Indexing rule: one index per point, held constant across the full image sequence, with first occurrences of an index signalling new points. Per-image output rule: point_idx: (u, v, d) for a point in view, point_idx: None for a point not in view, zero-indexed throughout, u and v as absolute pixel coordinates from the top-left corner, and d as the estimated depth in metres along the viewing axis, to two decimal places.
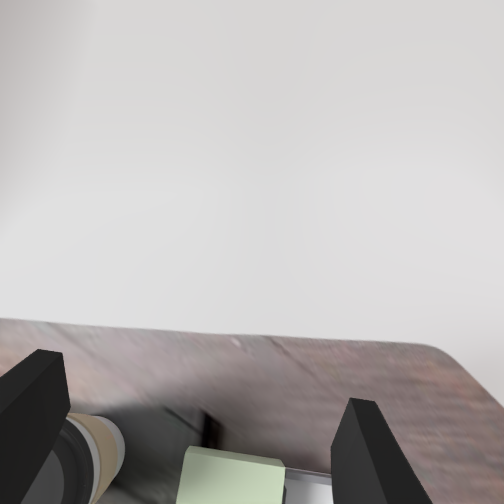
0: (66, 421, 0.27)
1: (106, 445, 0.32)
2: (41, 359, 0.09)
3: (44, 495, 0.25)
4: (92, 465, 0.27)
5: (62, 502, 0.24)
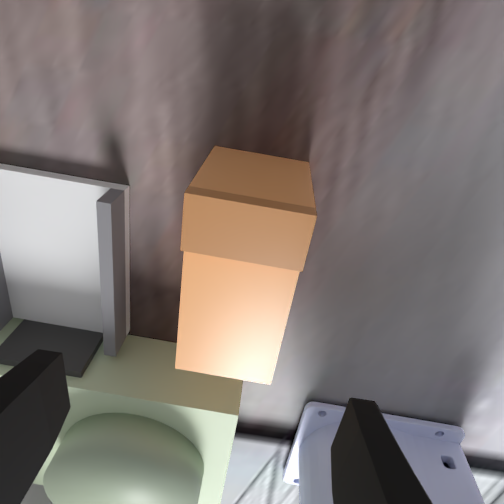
0: None
1: None
2: (41, 359, 0.09)
3: None
4: None
5: None
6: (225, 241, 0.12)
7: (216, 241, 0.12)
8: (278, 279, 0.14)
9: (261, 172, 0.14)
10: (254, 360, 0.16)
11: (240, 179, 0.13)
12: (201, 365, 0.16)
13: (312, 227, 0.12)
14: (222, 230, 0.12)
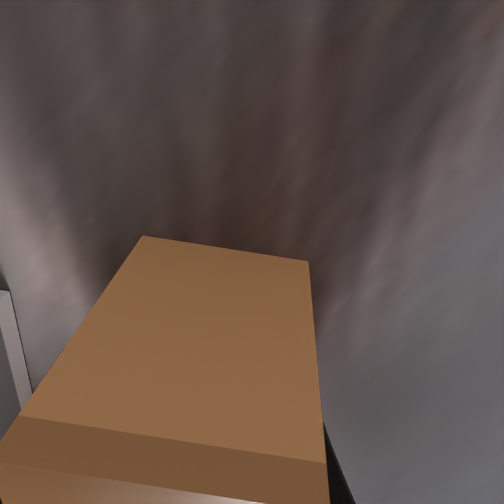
0: None
1: None
2: None
3: None
4: None
5: None
6: None
7: None
8: None
9: (214, 317, 0.07)
10: None
11: (161, 355, 0.06)
12: None
13: None
14: None
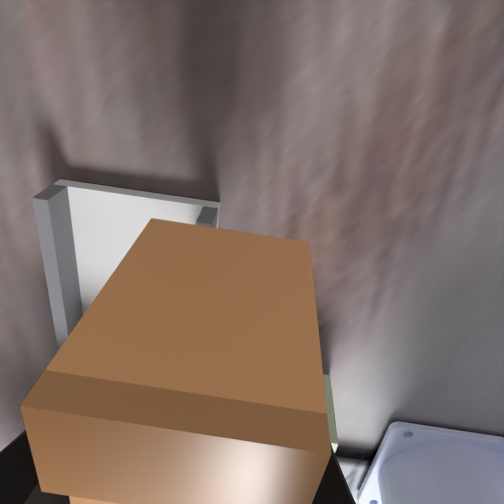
0: None
1: None
2: None
3: None
4: None
5: None
6: (131, 483, 0.06)
7: (112, 482, 0.06)
8: None
9: (221, 291, 0.08)
10: None
11: (173, 322, 0.07)
12: None
13: (320, 471, 0.05)
14: (121, 467, 0.06)
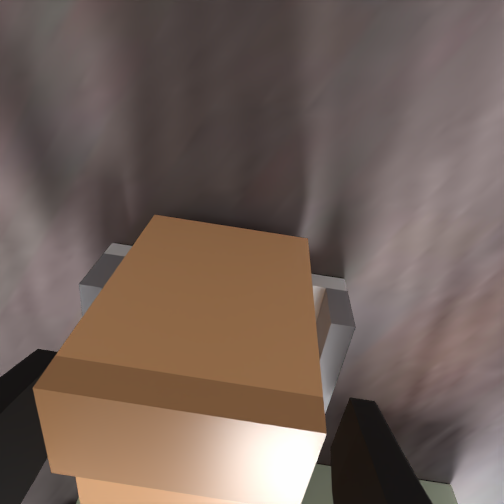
0: None
1: None
2: (41, 359, 0.09)
3: None
4: None
5: None
6: (137, 464, 0.06)
7: (119, 462, 0.06)
8: None
9: (222, 283, 0.08)
10: None
11: (177, 312, 0.07)
12: None
13: (316, 450, 0.05)
14: (127, 448, 0.06)
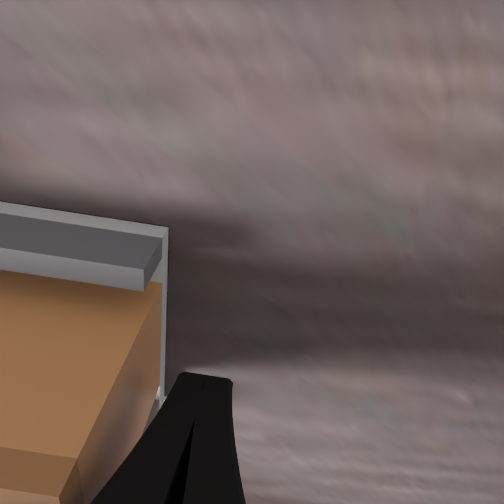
0: None
1: None
2: (193, 383, 0.09)
3: None
4: None
5: None
6: None
7: None
8: None
9: (131, 414, 0.10)
10: None
11: (113, 438, 0.08)
12: None
13: None
14: None
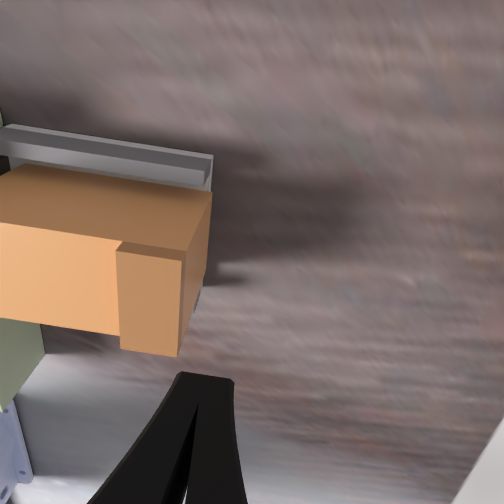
0: None
1: None
2: (191, 382, 0.09)
3: None
4: None
5: None
6: (136, 291, 0.12)
7: (134, 284, 0.12)
8: (102, 319, 0.14)
9: (197, 266, 0.15)
10: None
11: (192, 267, 0.14)
12: None
13: (165, 354, 0.14)
14: (147, 290, 0.12)
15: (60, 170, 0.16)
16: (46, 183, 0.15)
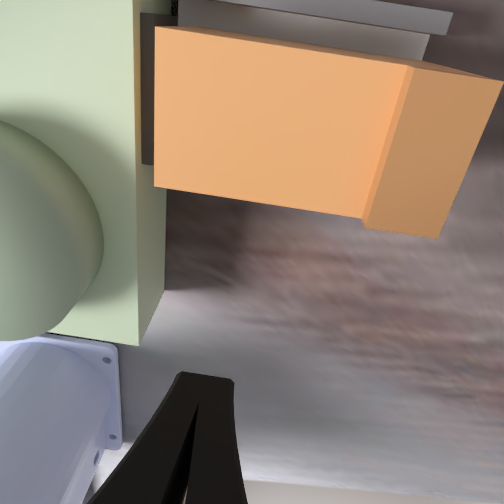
0: None
1: None
2: (191, 382, 0.09)
3: None
4: None
5: None
6: (420, 135, 0.09)
7: (421, 123, 0.09)
8: (337, 192, 0.11)
9: None
10: (197, 163, 0.11)
11: None
12: (171, 78, 0.10)
13: (423, 235, 0.11)
14: (437, 132, 0.09)
15: (243, 33, 0.13)
16: (244, 35, 0.12)
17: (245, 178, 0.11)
